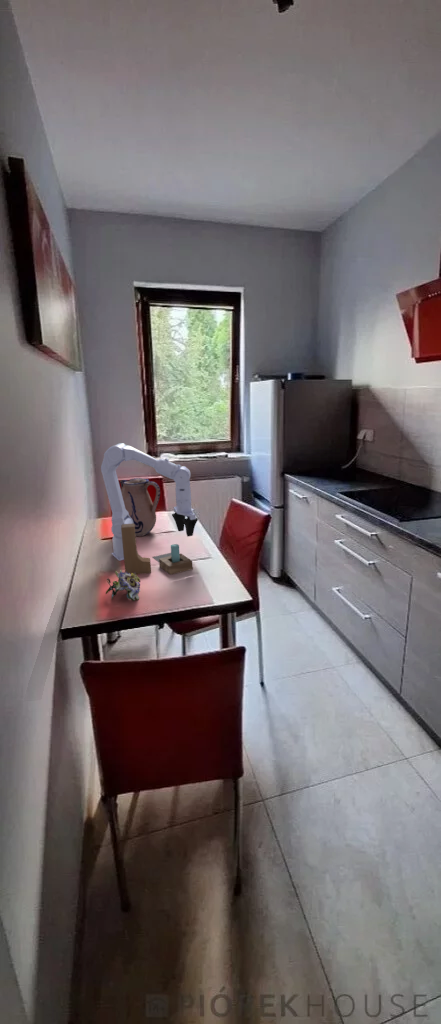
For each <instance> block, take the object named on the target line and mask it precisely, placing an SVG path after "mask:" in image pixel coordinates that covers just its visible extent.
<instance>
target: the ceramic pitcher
mask: <svg viewBox="0 0 441 1024" xmlns="http://www.w3.org/2000/svg"><path fill="white" fill-rule="evenodd" d="M119 484H120V489H121V493H122V497H123V501H124V505H125V509H126V510H127V511H128V513H129V516H130V517H131V518H132V520H133V524H135V536H136V537H142V536H145V535H148V534H149V533H150V532H151V531H152V530H153V529H154V528H155V526H156V522H157V513H156V510H157V507H158V505H159V501H160V497H161V488H160V486H159V484H158V483H157V482H155V481H150V480H149V478H141V477H135V478H131V479H129V480H126V479H121V480H119ZM149 486H153V487H154V489H155V498H154V500H153V501H152V497H151V496H150V493H149V491H148V487H149Z"/></svg>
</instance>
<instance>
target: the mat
mask: <svg viewBox="0 0 441 1024" xmlns="http://www.w3.org/2000/svg"><path fill="white" fill-rule="evenodd" d="M168 556H171V552H167V553H164V554H159V555H156V556H152V559H154V560H155V561H157V562H158V563H159V559H160V558H164V557H168Z"/></svg>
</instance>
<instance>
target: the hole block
mask: <svg viewBox="0 0 441 1024" xmlns="http://www.w3.org/2000/svg"><path fill="white" fill-rule="evenodd" d="M158 565H159V568H160V569H162V570H163V571H165V573H167V574H168V575H175V574H179V573H182V572H186V571H190V570H191V571H192V570H193V569H194V568H193V560H192V559H190V558H188V557H187V556H185V555H184V554H183V553H180V561H179V562H175V563H172V559H171V556H168V557H164V558H160V559H159V562H158Z"/></svg>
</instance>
